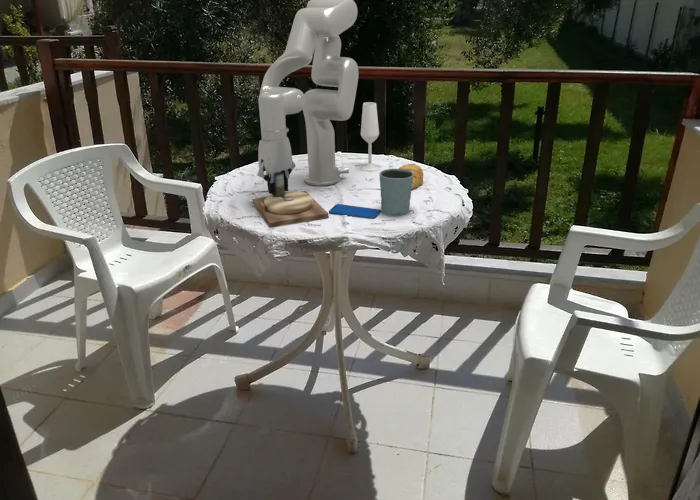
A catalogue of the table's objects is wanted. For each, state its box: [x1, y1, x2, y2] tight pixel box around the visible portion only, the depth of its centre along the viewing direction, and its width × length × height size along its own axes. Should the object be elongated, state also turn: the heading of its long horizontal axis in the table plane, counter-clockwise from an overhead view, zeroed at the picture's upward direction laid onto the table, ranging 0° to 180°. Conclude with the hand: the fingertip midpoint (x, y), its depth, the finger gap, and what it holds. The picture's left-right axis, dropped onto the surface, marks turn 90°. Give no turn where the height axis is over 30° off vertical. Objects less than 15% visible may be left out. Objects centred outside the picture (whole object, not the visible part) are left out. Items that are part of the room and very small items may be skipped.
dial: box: [264, 172, 314, 214], centre depth 181 cm, size 15×15×9 cm
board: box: [251, 190, 330, 228], centre depth 183 cm, size 18×22×4 cm
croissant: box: [397, 163, 424, 190], centre depth 204 cm, size 21×10×8 cm, turn 165°
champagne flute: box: [360, 101, 380, 172], centre depth 216 cm, size 7×7×24 cm
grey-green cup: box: [378, 168, 414, 217], centre depth 179 cm, size 10×10×12 cm
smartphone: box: [328, 203, 382, 220], centre depth 181 cm, size 7×1×15 cm
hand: (278, 191), depth 186 cm, fingers closed on dial, 4 cm apart
